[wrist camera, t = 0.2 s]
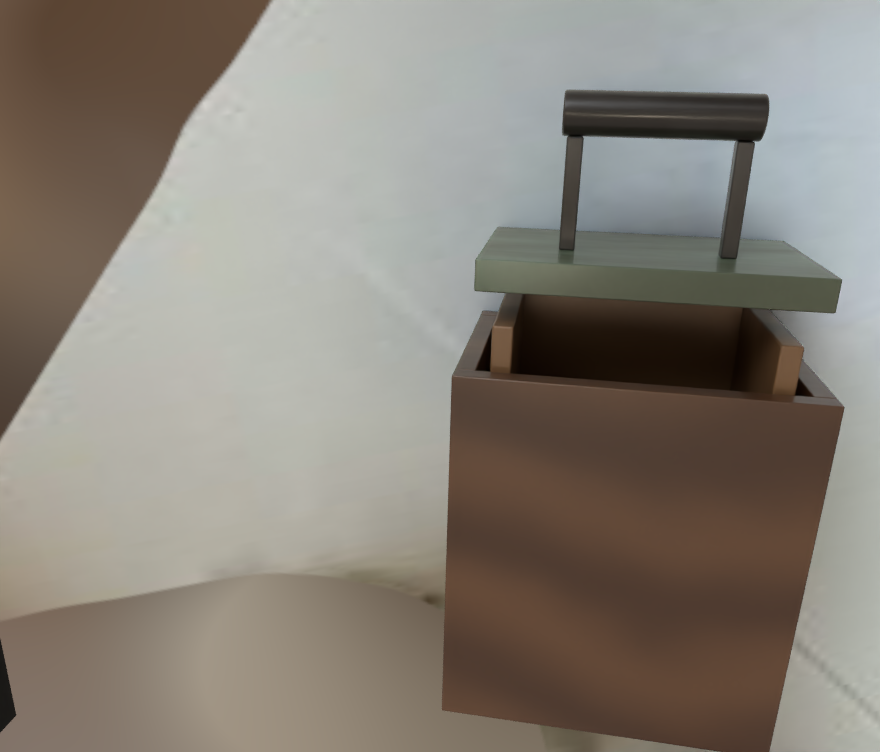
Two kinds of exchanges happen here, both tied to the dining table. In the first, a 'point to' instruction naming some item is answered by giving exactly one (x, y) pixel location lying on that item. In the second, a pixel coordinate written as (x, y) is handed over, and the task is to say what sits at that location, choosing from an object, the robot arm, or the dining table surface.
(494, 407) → the cabinet
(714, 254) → the drawer
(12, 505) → the dining table surface
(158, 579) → the dining table surface
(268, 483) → the dining table surface
